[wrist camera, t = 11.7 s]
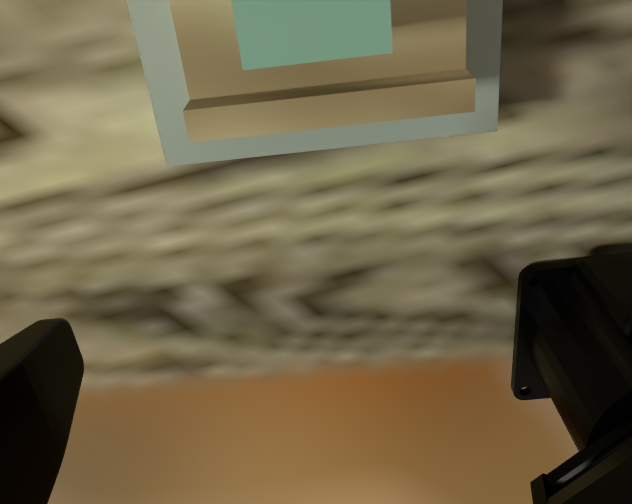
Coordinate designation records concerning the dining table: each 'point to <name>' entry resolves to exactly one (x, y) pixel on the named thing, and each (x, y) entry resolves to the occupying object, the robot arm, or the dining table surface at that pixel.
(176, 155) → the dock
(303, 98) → the tray
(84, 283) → the dining table surface
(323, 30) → the block
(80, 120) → the dining table surface
